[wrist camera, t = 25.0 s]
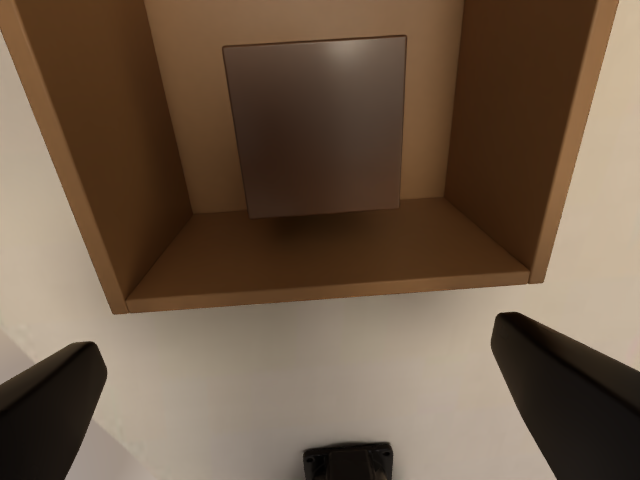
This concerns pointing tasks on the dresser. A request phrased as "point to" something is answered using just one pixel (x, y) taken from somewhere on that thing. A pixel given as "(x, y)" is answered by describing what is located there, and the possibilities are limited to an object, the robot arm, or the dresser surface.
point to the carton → (223, 161)
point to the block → (318, 124)
